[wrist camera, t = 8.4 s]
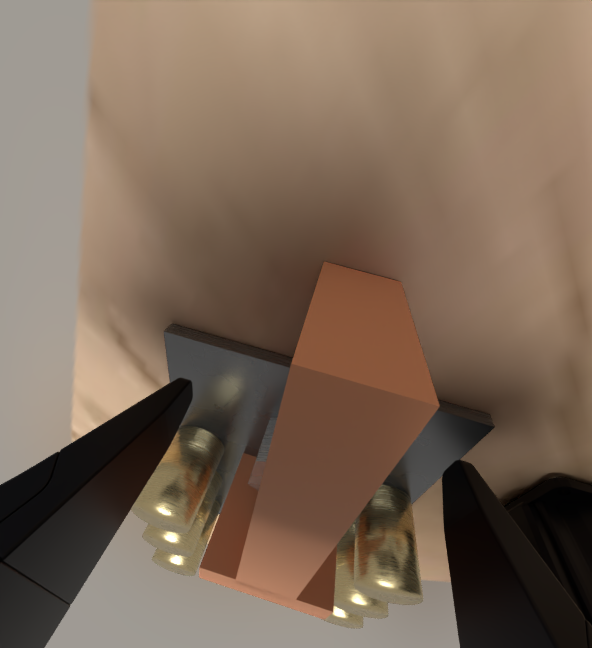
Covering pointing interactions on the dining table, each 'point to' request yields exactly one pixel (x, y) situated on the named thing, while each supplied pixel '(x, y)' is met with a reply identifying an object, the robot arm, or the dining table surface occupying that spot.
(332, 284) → the copper l-bar
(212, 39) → the dining table surface
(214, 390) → the plate
